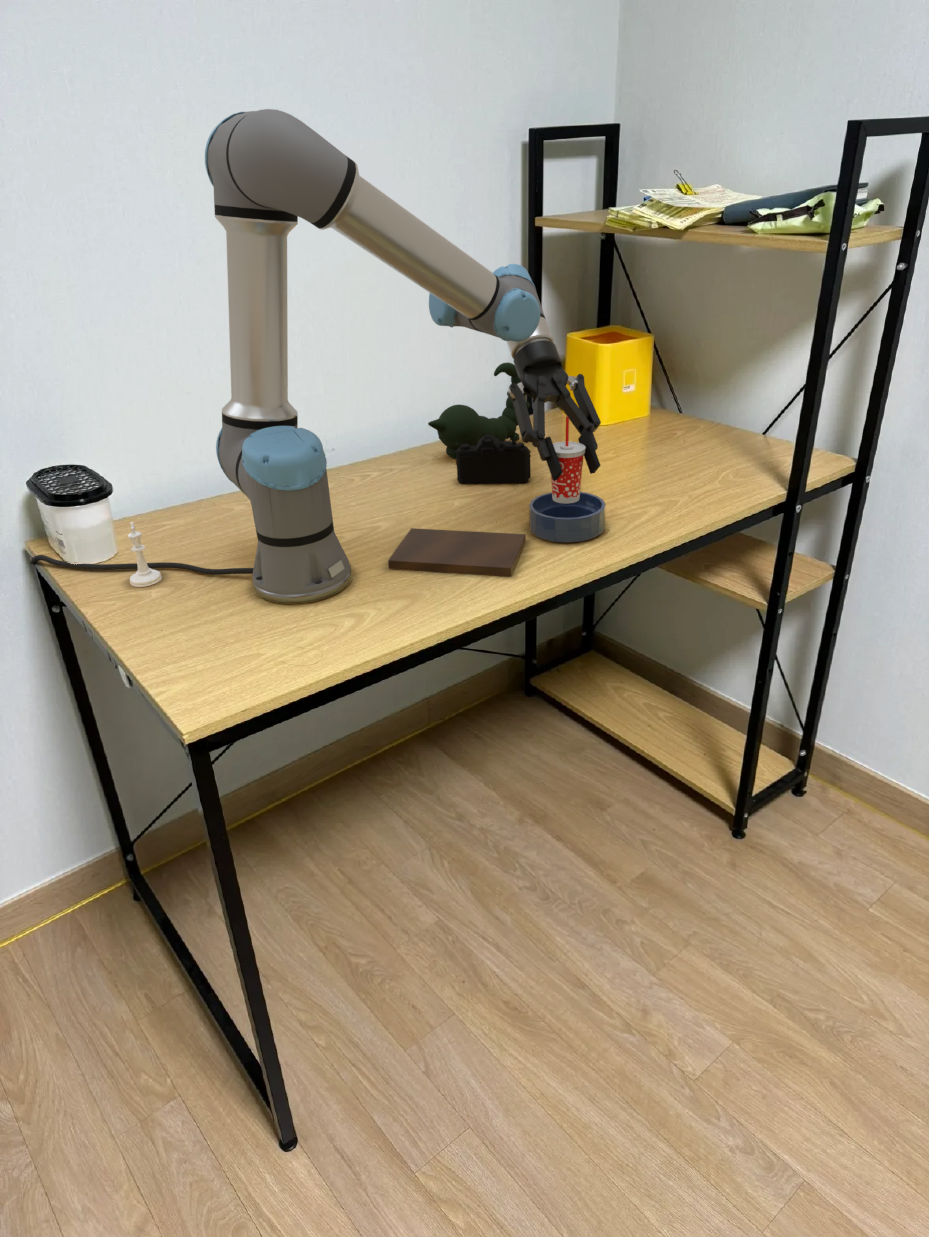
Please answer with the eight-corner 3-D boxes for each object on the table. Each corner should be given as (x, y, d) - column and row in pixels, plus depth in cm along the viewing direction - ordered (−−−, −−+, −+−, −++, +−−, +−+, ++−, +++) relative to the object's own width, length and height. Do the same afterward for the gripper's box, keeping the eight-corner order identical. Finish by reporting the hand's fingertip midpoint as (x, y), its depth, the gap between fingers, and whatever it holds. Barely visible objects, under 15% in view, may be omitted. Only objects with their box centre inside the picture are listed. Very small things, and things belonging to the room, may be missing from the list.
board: (388, 568, 140) (387, 560, 139) (411, 536, 151) (411, 528, 150) (511, 576, 135) (511, 567, 135) (525, 542, 146) (525, 534, 146)
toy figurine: (509, 442, 198) (415, 457, 185) (513, 357, 190) (416, 366, 177) (535, 452, 192) (440, 468, 178) (540, 364, 183) (441, 374, 170)
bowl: (523, 542, 146) (523, 517, 144) (536, 512, 157) (536, 489, 155) (600, 546, 144) (601, 520, 141) (607, 516, 154) (608, 492, 152)
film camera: (532, 468, 178) (531, 425, 174) (530, 484, 170) (529, 440, 165) (458, 469, 180) (455, 426, 175) (453, 485, 171) (450, 441, 167)
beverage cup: (542, 495, 149) (542, 414, 143) (574, 490, 151) (576, 410, 144) (556, 507, 144) (558, 424, 137) (590, 501, 146) (593, 419, 139)
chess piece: (129, 589, 138) (114, 530, 133) (130, 576, 142) (115, 519, 137) (161, 584, 139) (147, 526, 134) (162, 571, 143) (148, 514, 138)
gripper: (576, 357, 154) (619, 474, 148) (475, 371, 148) (516, 492, 142) (591, 331, 147) (637, 453, 141) (487, 344, 141) (530, 471, 136)
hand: (576, 472), depth 142 cm, fingers closed on beverage cup, 6 cm apart
